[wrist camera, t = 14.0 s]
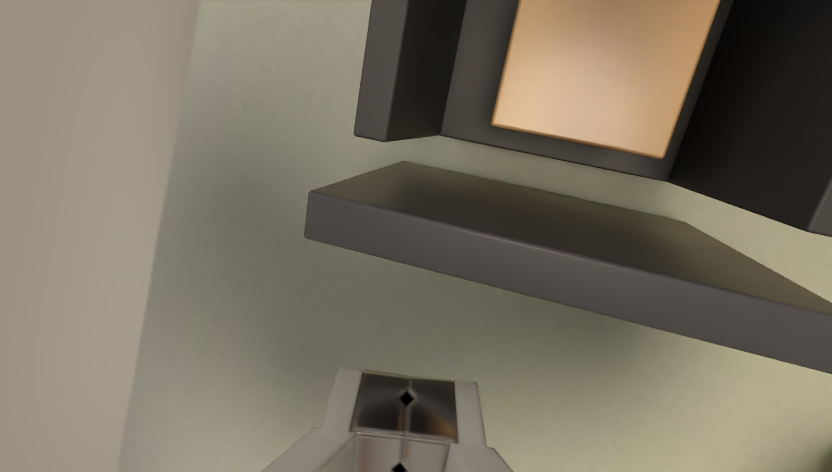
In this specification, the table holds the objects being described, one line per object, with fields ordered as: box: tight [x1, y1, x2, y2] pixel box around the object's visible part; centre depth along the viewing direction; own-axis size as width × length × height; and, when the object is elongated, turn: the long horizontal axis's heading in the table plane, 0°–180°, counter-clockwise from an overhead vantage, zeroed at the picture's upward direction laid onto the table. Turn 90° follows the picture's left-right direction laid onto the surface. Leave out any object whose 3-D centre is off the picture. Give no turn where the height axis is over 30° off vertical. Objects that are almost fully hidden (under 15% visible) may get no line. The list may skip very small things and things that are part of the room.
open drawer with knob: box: [304, 0, 832, 374], centre depth 11 cm, size 15×12×9 cm
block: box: [491, 0, 720, 159], centre depth 12 cm, size 4×4×5 cm
